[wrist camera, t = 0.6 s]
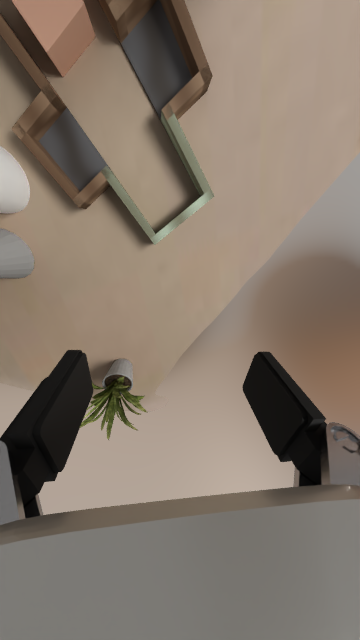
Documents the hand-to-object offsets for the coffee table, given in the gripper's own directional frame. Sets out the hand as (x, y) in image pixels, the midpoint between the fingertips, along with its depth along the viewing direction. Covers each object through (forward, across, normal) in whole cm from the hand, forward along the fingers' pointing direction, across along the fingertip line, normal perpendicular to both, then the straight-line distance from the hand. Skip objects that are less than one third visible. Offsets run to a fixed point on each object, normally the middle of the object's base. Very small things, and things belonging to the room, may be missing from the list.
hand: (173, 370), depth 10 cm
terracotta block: (+30, +14, -27) cm, 42 cm away
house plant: (+29, +11, +29) cm, 42 cm away
